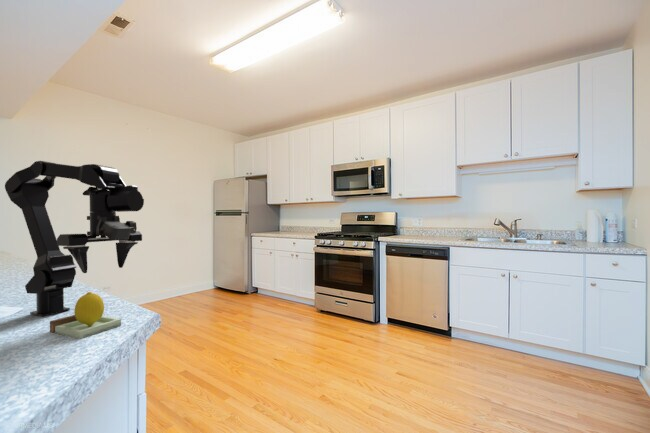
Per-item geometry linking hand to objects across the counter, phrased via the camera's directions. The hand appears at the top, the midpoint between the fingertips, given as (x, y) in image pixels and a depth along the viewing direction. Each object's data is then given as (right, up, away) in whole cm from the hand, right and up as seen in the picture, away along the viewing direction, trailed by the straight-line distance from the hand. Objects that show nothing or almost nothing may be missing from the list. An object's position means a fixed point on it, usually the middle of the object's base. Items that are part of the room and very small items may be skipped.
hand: (103, 270), depth 84 cm
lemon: (+5, -11, -11) cm, 17 cm away
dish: (+5, -12, -11) cm, 17 cm away
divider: (-1, -12, -8) cm, 15 cm away
